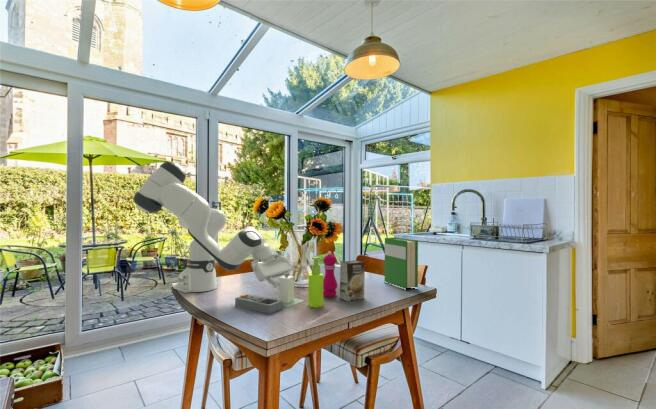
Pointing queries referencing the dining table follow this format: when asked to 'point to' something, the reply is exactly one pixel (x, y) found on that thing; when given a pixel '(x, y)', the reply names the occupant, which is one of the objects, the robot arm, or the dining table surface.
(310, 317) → the dining table surface
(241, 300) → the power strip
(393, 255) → the hardback book
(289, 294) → the white pillar candle
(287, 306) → the rubber mat
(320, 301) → the soap dispenser
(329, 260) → the pepper mill
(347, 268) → the coffee box
